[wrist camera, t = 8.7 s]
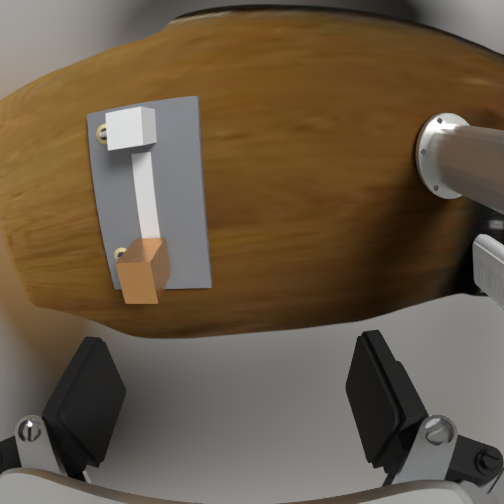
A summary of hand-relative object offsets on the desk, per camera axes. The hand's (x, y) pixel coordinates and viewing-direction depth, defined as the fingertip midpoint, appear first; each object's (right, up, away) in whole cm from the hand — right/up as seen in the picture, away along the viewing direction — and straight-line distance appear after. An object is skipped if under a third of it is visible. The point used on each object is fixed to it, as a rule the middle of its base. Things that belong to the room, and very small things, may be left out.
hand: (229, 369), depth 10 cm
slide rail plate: (-12, +11, +25) cm, 30 cm away
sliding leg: (-13, +4, +26) cm, 29 cm away
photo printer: (+41, +3, +31) cm, 52 cm away
